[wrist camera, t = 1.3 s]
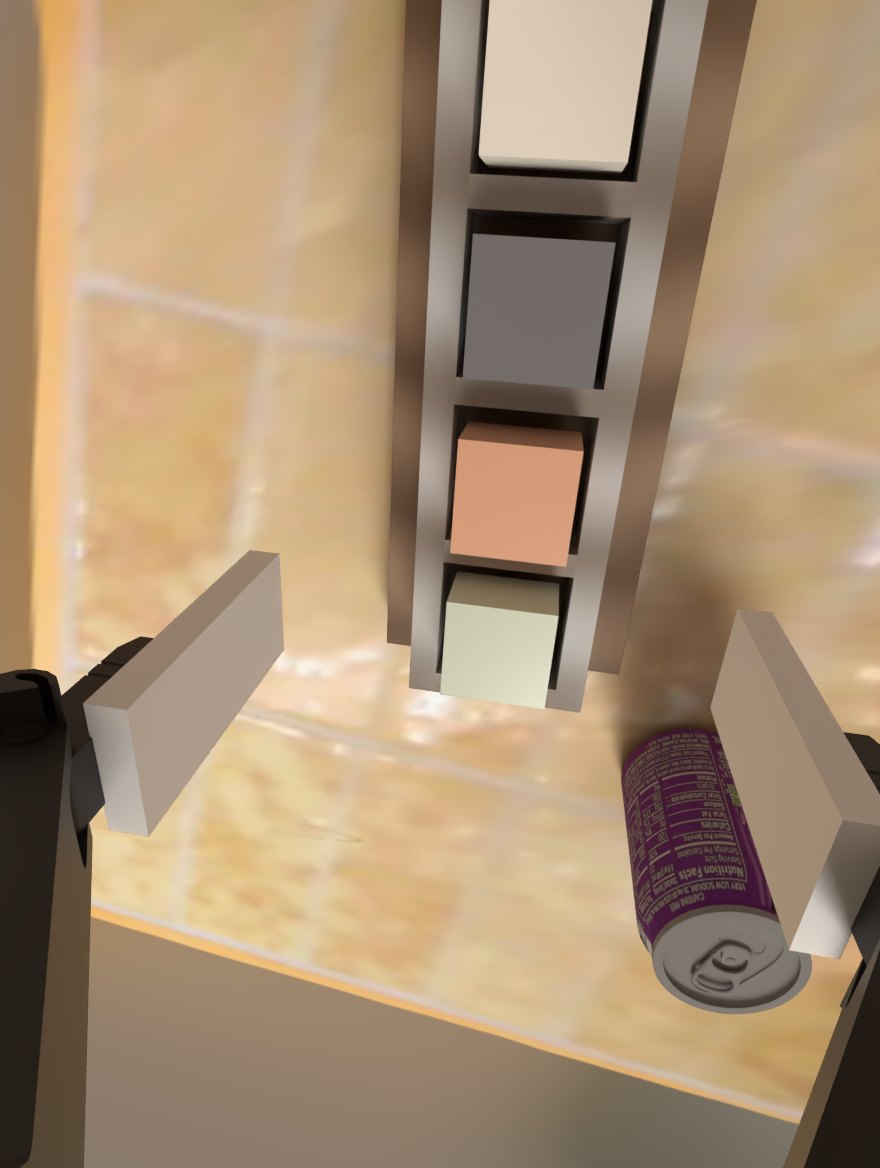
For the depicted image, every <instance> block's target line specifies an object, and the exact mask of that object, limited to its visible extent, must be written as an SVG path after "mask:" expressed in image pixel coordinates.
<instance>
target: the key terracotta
mask: <svg viewBox="0 0 880 1168" xmlns="http://www.w3.org/2000/svg"><path fill="white" fill-rule="evenodd" d="M583 453H584V449H583V439H582V432H574V431H564V430H553V429H543V428H532V427H522V426H511V425H501V424H491V423H480V422H470V421H469V422H468V424H467V425H466V427H465V429H464V430H463V432H462V434H461V435H460V437H459V439H458V451H457V465H456V479H455V493H454V507H453V521H452V535H451V549H450V553H454V554H462V555H470V556H479V557H487V558H495V559H504V560H512V561H521V562H529V563H537V564H546V565H554V566H563V567H566V564H567V558H568V551H569V545H570V538H571V532H572V525H573V518H574V512H575V505H576V499H577V492H578V486H579V479H580V473H581V466H582V459H583Z"/></svg>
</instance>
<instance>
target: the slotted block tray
mask: <svg viewBox="0 0 880 1168" xmlns="http://www.w3.org/2000/svg"><path fill="white" fill-rule="evenodd" d="M756 1H757V0H652V7H651V13H650V20H649V27H648V33H647V40H646V46H645V53H644V59H643V66H642V72H641V79H640V86H639V92H638V99H637V105H636V112H635V118H634V125H633V131H632V138H631V145H630V151H629V158H628V163H627V165H626V166H625V168H624V169H623V171H622V172H621V174H607V173H588V172H568V171H548V170H528V169H508V168H488V166H487V165H486V164H485V163H484V161H483V160H482V159H481V158H480V156H479V143H480V129H481V115H482V101H483V87H484V73H485V59H486V45H487V31H488V17H489V3H490V0H406V20H405V53H404V87H403V120H402V154H401V187H400V220H399V254H398V287H397V321H396V354H395V388H394V421H393V455H392V488H391V522H390V555H389V588H388V622H387V643H392V644H400V645H407V646H411V658H410V679H409V688H413V689H420V690H427V691H434V692H440V689H441V675H442V661H443V647H444V633H445V619H446V605H447V600H448V597H449V594H450V591H451V588H452V585H453V582H454V579H455V576H456V574H457V571H459V572H467V573H475V574H483V575H492V576H500V577H508V578H516V579H524V580H532V581H541V582H549V583H557V584H559V617H558V623H557V630H556V637H555V643H554V650H553V656H552V663H551V669H550V676H549V682H548V689H547V696H546V702H545V708H552V709H559V710H565V711H572V712H579V713H580V711H581V705H582V700H583V694H584V688H585V683H586V677H587V672H588V670H590V671H597V672H605V673H612V674H619V672H620V667H621V662H622V657H623V652H624V647H625V642H626V637H627V632H628V627H629V623H630V618H631V613H632V608H633V603H634V598H635V593H636V588H637V583H638V578H639V574H640V569H641V564H642V559H643V554H644V549H645V544H646V539H647V534H648V530H649V525H650V520H651V515H652V510H653V505H654V500H655V495H656V490H657V485H658V481H659V476H660V471H661V466H662V461H663V456H664V451H665V446H666V441H667V436H668V432H669V427H670V422H671V417H672V412H673V407H674V402H675V397H676V392H677V388H678V383H679V378H680V373H681V368H682V363H683V358H684V353H685V348H686V343H687V339H688V334H689V329H690V324H691V319H692V314H693V309H694V304H695V299H696V294H697V290H698V285H699V280H700V275H701V270H702V265H703V260H704V255H705V250H706V246H707V241H708V236H709V231H710V226H711V221H712V216H713V211H714V206H715V201H716V197H717V192H718V187H719V182H720V177H721V172H722V167H723V162H724V157H725V152H726V148H727V143H728V138H729V133H730V128H731V123H732V118H733V113H734V108H735V104H736V99H737V94H738V89H739V84H740V79H741V74H742V69H743V64H744V59H745V55H746V50H747V45H748V40H749V35H750V30H751V25H752V20H753V15H754V10H755V6H756ZM473 234H486V235H502V236H518V237H534V238H550V239H566V240H582V241H598V242H614V243H615V250H614V256H613V263H612V269H611V276H610V282H609V289H608V295H607V302H606V309H605V315H604V322H603V328H602V335H601V341H600V348H599V355H598V361H597V368H596V374H595V381H594V387H593V390H592V389H581V388H569V387H558V386H547V385H535V384H524V383H513V382H501V381H490V380H478V379H467V378H463V367H464V353H465V339H466V325H467V311H468V297H469V283H470V269H471V255H472V241H473ZM469 421H470V422H480V423H491V424H501V425H511V426H522V427H532V428H543V429H553V430H564V431H574V432H582V439H583V449H584V453H583V459H582V466H581V473H580V479H579V486H578V492H577V499H576V505H575V512H574V518H573V525H572V532H571V538H570V545H569V551H568V558H567V564H566V567H563V566H554V565H546V564H537V563H529V562H521V561H512V560H504V559H495V558H487V557H479V556H470V555H462V554H454V553H450V549H451V535H452V521H453V507H454V493H455V479H456V465H457V451H458V439H459V437H460V435H461V434H462V432H463V430H464V429H465V427H466V425H467V424H468V422H469Z"/></svg>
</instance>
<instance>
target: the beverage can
mask: <svg viewBox="0 0 880 1168" xmlns="http://www.w3.org/2000/svg"><path fill="white" fill-rule="evenodd" d="M621 783H622V792H623V801H624V810H625V819H626V828H627V837H628V846H629V855H630V864H631V873H632V882H633V891H634V900H635V909H636V918H637V926H638V931H639V934H640V937H641V940H642V942H643V944H644V946H645V947H646V949H647V950H648V952H649V953H650V955H651V956H652V960H653V967H654V971H655V974H656V976H657V978H658V980H659V981H660V983H661V984H662V985H663V986H664V987H665V988H666V989H667V990H668V991H669V992H670V993H671V994H672V995H674V996H675V997H676V998H678V999H680V1000H681V1001H683V1002H685V1003H687V1004H689V1005H692V1006H694V1007H697V1008H700V1009H703V1010H707V1011H711V1012H716V1013H724V1014H748V1013H756V1012H761V1011H765V1010H769V1009H772V1008H775V1007H777V1006H780V1005H782V1004H784V1003H786V1002H787V1001H789V1000H791V999H792V998H793V997H795V996H796V995H797V994H798V993H799V992H800V991H801V990H802V989H803V988H804V987H805V985H806V984H807V982H808V980H809V978H810V975H811V970H812V960H811V956H810V954H808V953H803V952H797V951H791V950H789V948H788V945H787V942H786V939H785V936H784V933H783V930H782V927H781V924H780V921H779V918H778V915H777V912H776V908H775V905H774V902H773V899H772V896H771V893H770V890H769V887H768V884H767V881H766V878H765V875H764V872H763V869H762V866H761V862H760V859H759V856H758V853H757V850H756V847H755V844H754V841H753V838H752V835H751V832H750V829H749V826H748V823H747V819H746V816H745V813H744V810H743V807H742V804H741V801H740V798H739V795H738V792H737V789H736V786H735V783H734V780H733V777H732V773H731V770H730V767H729V764H728V761H727V758H726V755H725V752H724V749H723V746H722V743H721V740H720V737H719V734H717V733H714V732H711V731H707V730H701V729H676V730H671V731H666V732H663V733H660V734H657V735H655V736H653V737H651V738H649V739H647V740H646V741H644V742H643V743H641V744H640V745H639V746H638V747H636V748H635V749H634V750H633V752H632V753H631V754H630V755H629V757H628V758H627V760H626V762H625V764H624V767H623V770H622V776H621Z"/></svg>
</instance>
